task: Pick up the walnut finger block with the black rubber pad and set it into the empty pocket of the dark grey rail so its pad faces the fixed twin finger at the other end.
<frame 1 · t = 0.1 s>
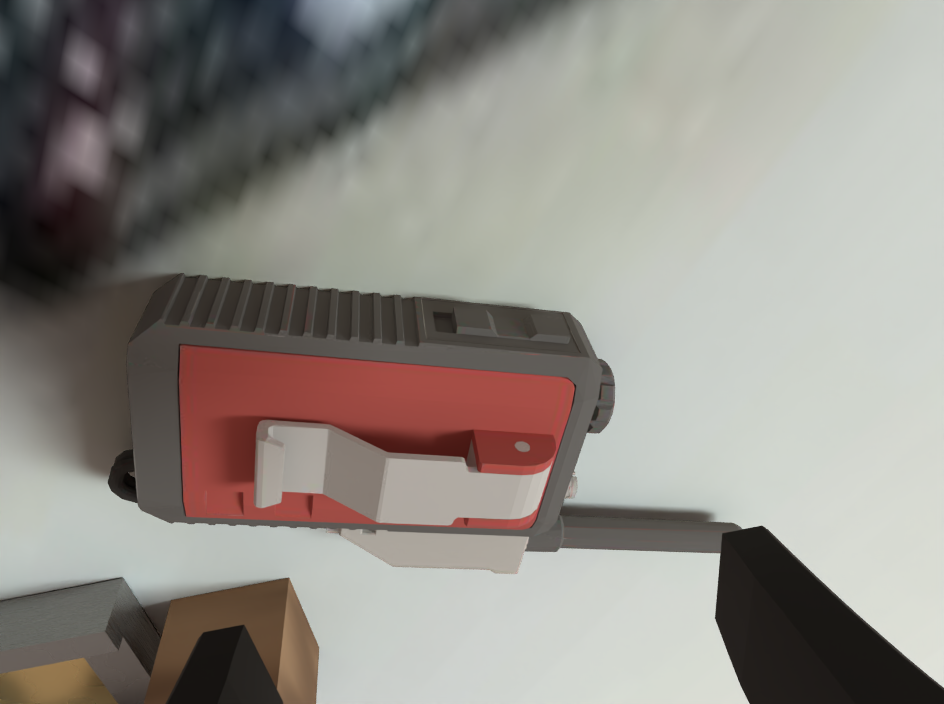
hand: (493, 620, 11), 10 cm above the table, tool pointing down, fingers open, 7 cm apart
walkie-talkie: (469, 414, 22), on the table
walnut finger: (248, 624, 26), on the table
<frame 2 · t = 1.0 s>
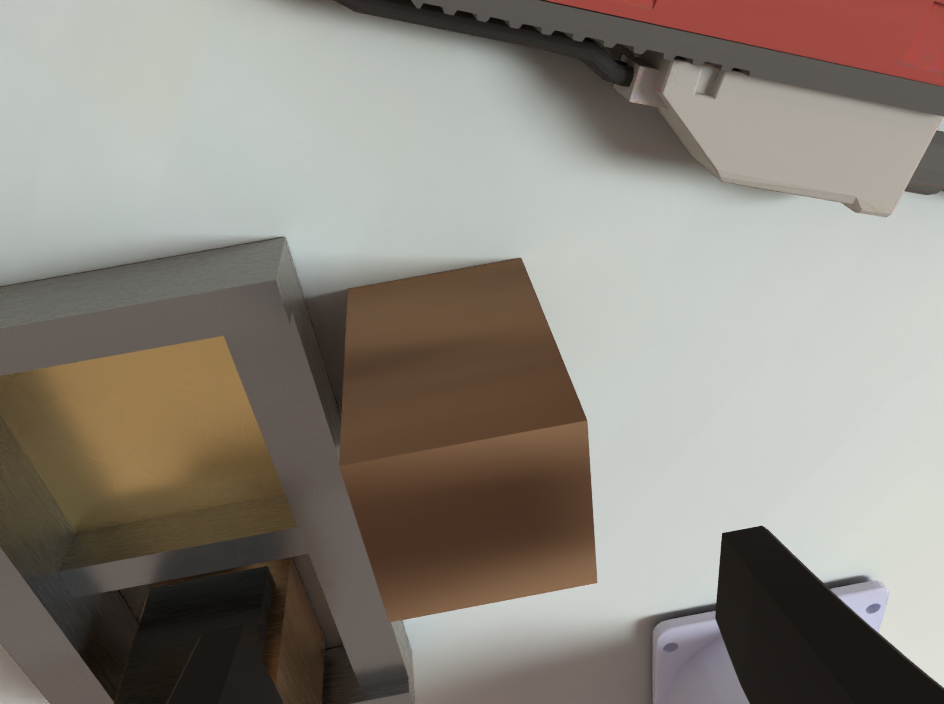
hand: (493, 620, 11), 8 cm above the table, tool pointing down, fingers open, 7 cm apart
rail: (197, 519, 20), on the table
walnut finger: (448, 345, 18), on the table
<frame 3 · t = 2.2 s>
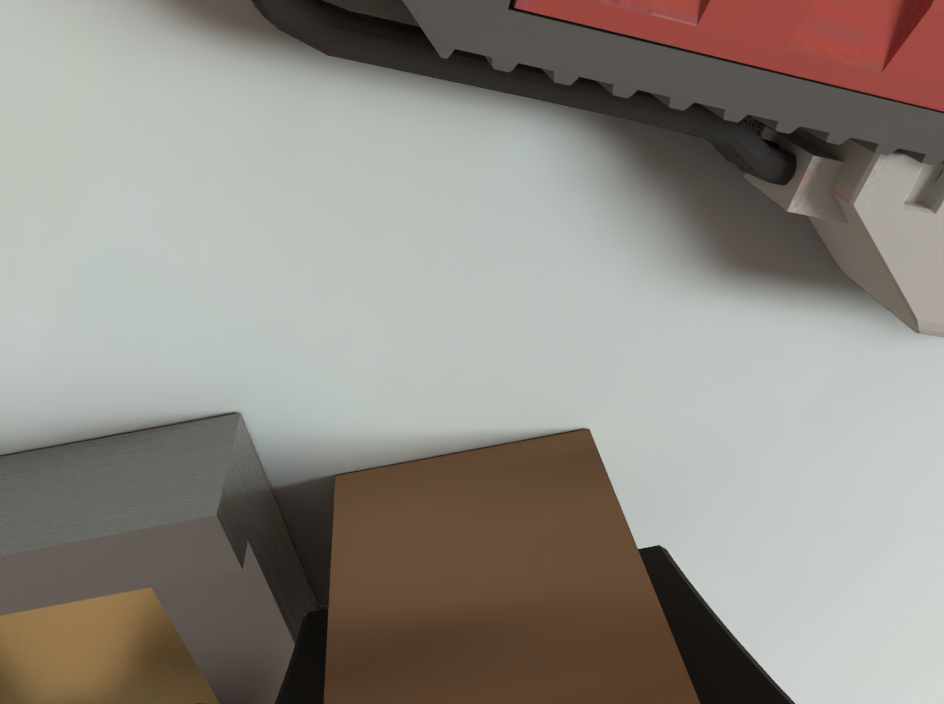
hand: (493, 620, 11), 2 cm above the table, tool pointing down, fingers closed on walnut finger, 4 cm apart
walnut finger: (479, 539, 12), on the table, touching gripper
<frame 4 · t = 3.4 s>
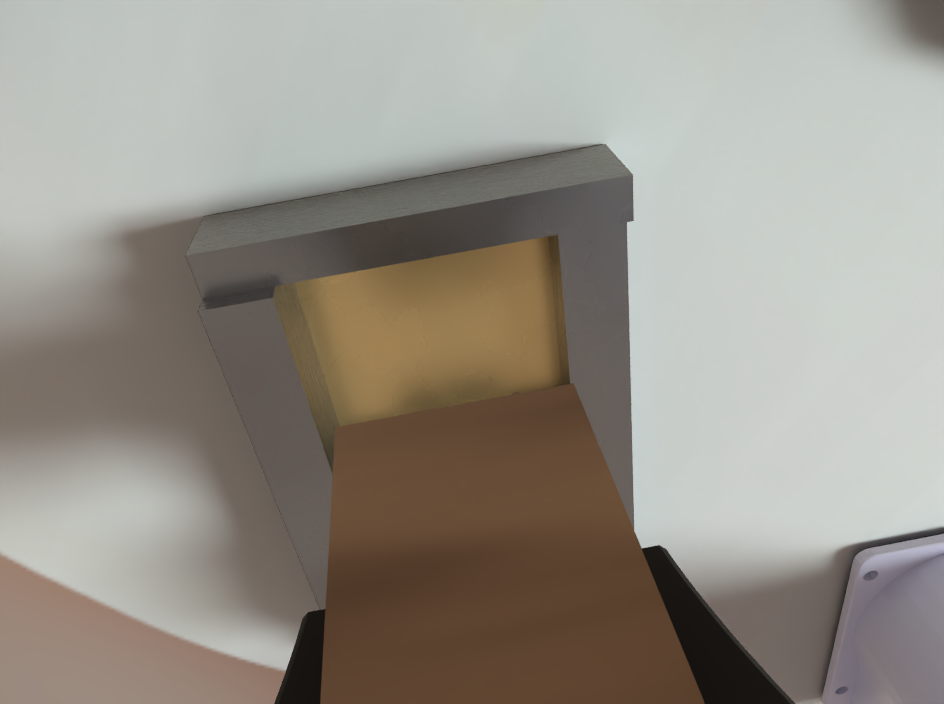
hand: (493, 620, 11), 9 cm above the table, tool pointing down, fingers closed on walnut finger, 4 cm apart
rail: (457, 436, 20), on the table
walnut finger: (471, 491, 13), point 6 cm above the table, touching gripper
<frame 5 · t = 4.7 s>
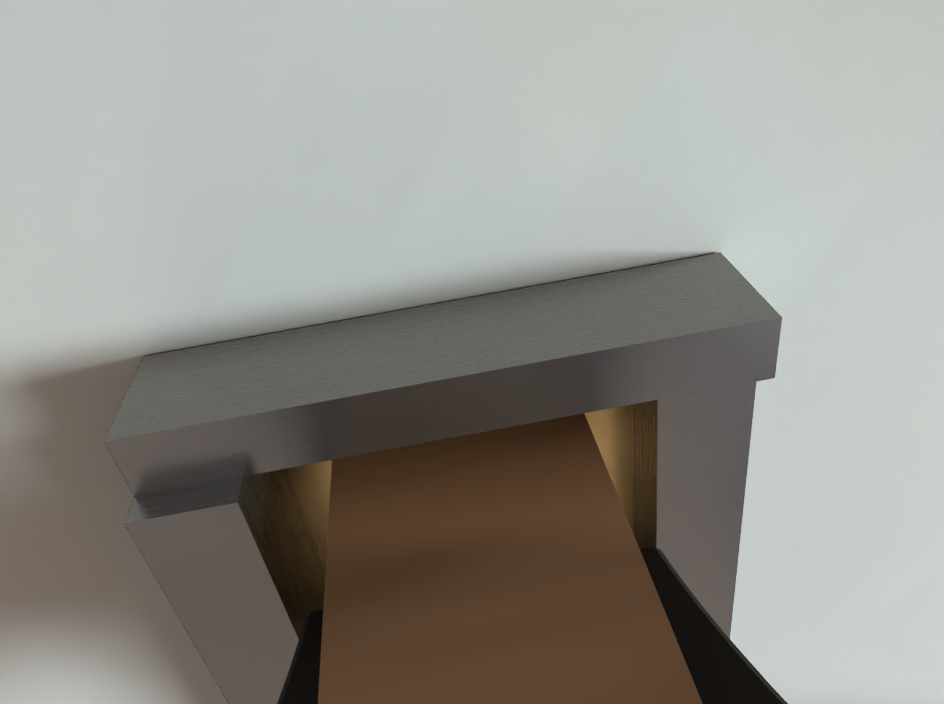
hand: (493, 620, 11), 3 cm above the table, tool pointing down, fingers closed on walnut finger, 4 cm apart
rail: (493, 609, 15), on the table
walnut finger: (470, 491, 13), resting on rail, touching gripper
when the fingers open (3 cm above the table, at t = 4.9 s): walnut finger stays where it is, resting on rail.
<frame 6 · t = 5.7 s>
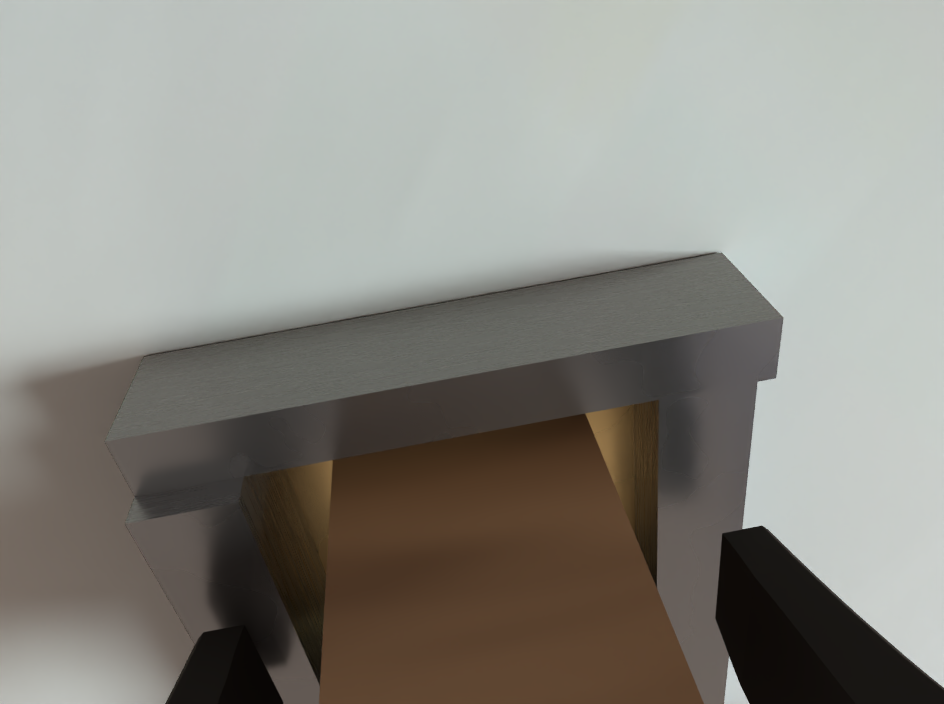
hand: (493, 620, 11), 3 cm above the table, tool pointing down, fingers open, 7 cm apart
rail: (493, 609, 15), on the table
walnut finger: (470, 491, 13), resting on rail
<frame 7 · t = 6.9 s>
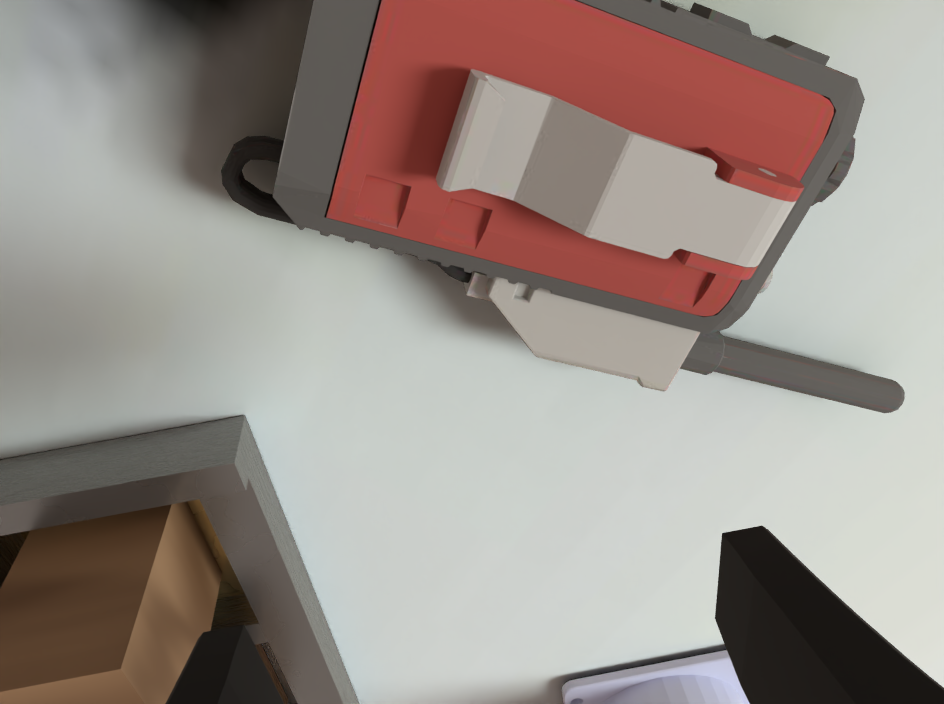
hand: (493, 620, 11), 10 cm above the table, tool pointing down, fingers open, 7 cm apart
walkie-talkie: (640, 190, 19), on the table
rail: (180, 611, 25), on the table
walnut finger: (136, 542, 22), resting on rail
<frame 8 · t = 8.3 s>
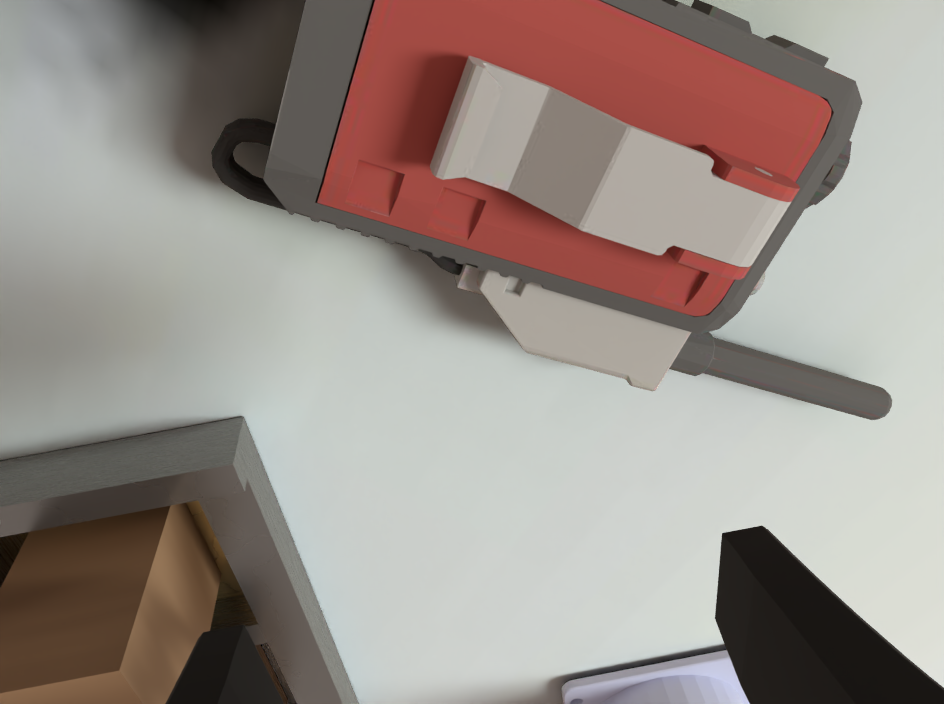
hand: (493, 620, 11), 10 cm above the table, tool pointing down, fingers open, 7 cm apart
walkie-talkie: (635, 187, 19), on the table
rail: (180, 612, 25), on the table
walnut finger: (135, 543, 22), resting on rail
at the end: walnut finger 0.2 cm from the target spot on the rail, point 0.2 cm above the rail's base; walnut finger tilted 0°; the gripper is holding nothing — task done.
